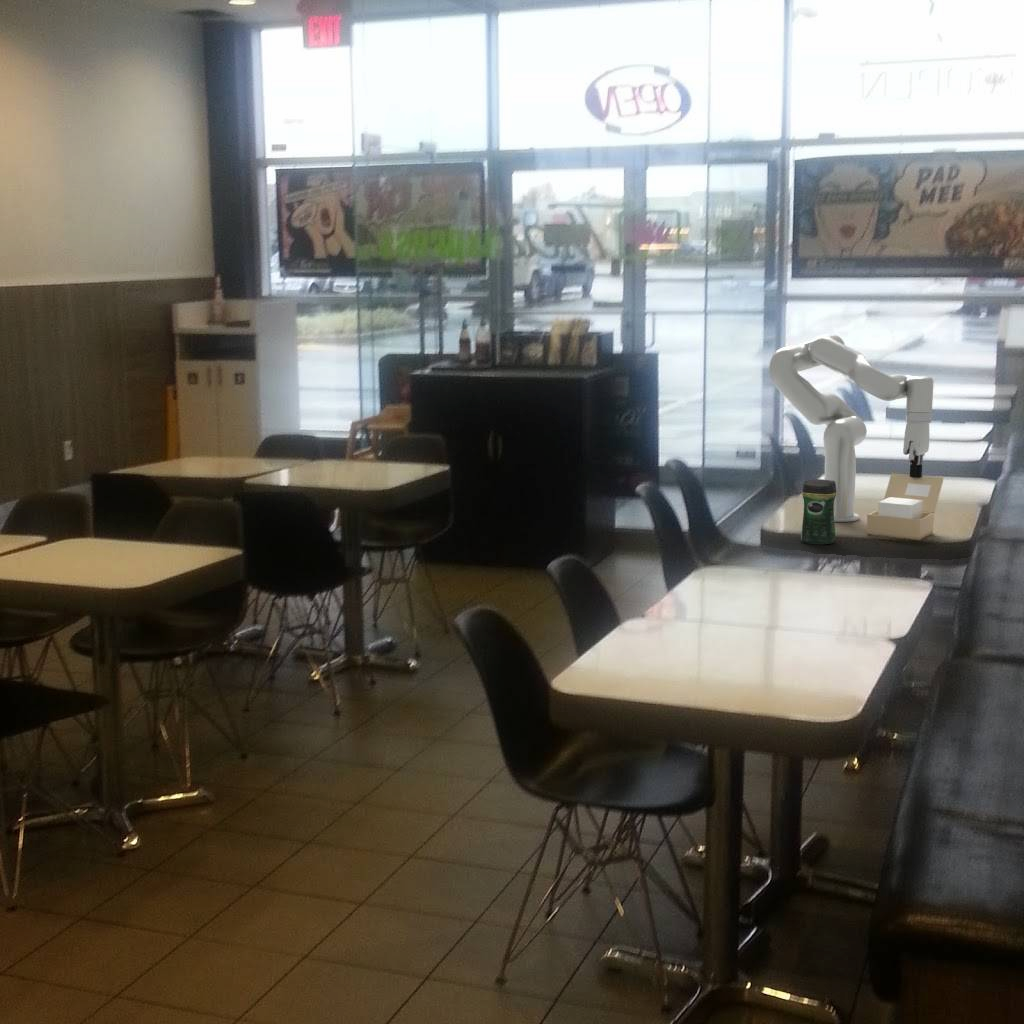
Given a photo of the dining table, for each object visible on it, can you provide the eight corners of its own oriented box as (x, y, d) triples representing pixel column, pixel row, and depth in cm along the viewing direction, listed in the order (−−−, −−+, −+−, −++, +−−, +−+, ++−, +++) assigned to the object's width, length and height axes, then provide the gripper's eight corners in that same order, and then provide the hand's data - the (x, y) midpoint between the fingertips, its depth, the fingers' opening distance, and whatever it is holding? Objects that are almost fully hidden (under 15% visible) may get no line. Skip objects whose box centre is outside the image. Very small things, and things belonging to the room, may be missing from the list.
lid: (891, 472, 412) (891, 474, 413) (881, 506, 408) (882, 508, 409) (943, 477, 403) (943, 478, 404) (933, 512, 399) (934, 513, 400)
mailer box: (866, 534, 400) (868, 501, 398) (880, 527, 410) (882, 495, 408) (919, 540, 391) (921, 506, 389) (932, 533, 400) (934, 500, 399)
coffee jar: (837, 541, 391) (840, 478, 388) (830, 546, 384) (832, 482, 381) (805, 538, 396) (807, 476, 392) (797, 543, 389) (799, 480, 385)
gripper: (915, 414, 412) (912, 472, 415) (897, 419, 400) (894, 479, 403) (939, 415, 407) (936, 474, 411) (922, 420, 395) (919, 481, 399)
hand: (915, 477), depth 407 cm, fingers closed
